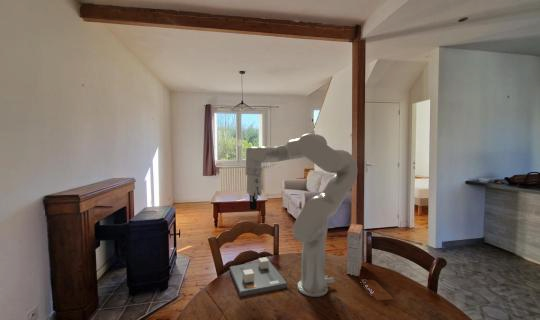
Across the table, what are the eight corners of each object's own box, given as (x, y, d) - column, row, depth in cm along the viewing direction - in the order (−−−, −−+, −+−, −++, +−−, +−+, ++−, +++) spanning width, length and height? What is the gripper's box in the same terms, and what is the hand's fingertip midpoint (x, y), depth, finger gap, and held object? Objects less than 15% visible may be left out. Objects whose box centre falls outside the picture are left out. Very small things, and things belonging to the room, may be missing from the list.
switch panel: (269, 264, 124) (269, 260, 124) (286, 287, 103) (286, 282, 103) (229, 270, 117) (229, 266, 117) (240, 296, 96) (240, 291, 96)
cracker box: (349, 262, 128) (351, 223, 127) (362, 265, 125) (363, 224, 124) (345, 274, 115) (346, 230, 114) (359, 277, 112) (360, 232, 112)
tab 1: (251, 276, 107) (251, 268, 107) (254, 281, 103) (254, 273, 103) (242, 278, 105) (242, 270, 105) (244, 283, 102) (245, 274, 102)
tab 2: (266, 264, 119) (266, 257, 119) (269, 267, 115) (269, 260, 115) (258, 265, 118) (258, 258, 117) (260, 269, 114) (261, 261, 114)
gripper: (266, 173, 115) (265, 212, 115) (256, 170, 128) (255, 205, 129) (250, 173, 112) (250, 213, 112) (242, 170, 126) (241, 206, 126)
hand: (253, 209), depth 121 cm, fingers closed
